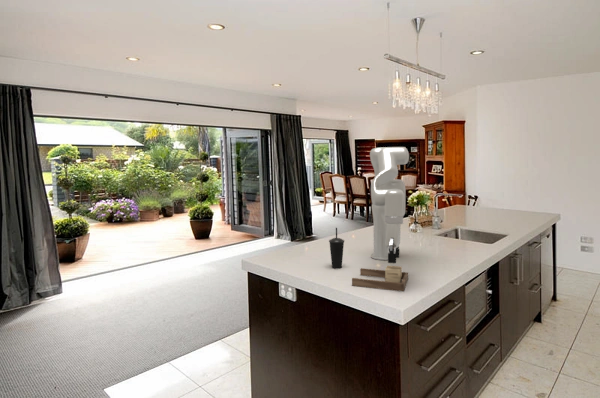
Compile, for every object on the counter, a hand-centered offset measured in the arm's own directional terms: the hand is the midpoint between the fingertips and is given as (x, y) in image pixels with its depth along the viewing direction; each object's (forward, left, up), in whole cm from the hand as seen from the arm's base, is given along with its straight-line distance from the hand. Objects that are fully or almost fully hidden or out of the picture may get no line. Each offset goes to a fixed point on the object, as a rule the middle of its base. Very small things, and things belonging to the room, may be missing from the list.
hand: (393, 260), depth 153 cm
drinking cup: (-17, -30, -11) cm, 36 cm away
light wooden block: (-1, 0, -11) cm, 11 cm away
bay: (-1, -6, -10) cm, 12 cm away
